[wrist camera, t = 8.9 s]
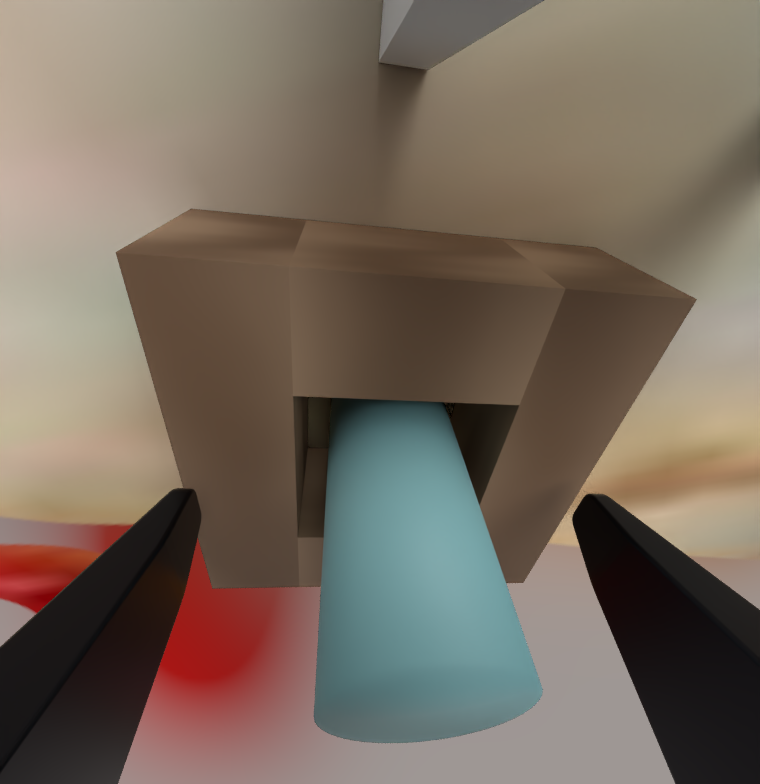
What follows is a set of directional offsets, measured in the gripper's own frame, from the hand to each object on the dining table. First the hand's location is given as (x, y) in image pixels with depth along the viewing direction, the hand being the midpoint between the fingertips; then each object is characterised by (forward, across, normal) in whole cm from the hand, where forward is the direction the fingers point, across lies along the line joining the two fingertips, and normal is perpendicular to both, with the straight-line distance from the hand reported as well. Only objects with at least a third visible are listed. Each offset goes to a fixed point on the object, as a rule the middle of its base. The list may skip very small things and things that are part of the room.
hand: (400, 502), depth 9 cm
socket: (+4, 0, 0) cm, 4 cm away
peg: (+4, 0, 0) cm, 4 cm away
